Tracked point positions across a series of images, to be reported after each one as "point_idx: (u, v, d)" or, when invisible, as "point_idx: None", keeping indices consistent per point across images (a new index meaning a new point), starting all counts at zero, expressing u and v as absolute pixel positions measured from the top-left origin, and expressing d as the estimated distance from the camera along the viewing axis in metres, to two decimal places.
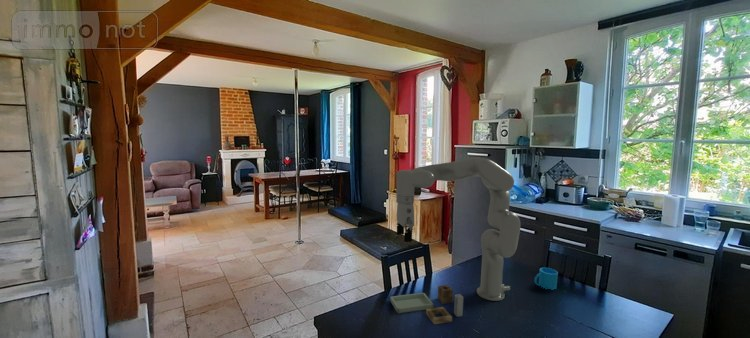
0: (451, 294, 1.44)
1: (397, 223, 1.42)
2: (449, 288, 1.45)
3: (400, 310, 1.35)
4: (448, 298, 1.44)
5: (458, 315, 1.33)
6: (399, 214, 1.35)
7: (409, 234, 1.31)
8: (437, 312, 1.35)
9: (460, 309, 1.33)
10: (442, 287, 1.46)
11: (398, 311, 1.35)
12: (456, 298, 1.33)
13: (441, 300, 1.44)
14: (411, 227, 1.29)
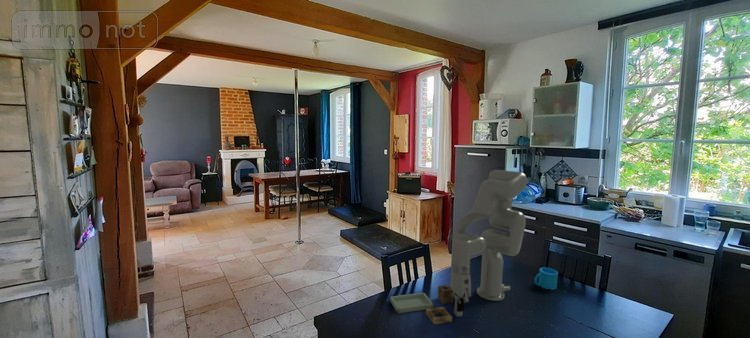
0: (451, 294, 1.44)
1: (453, 295, 1.36)
2: (449, 288, 1.45)
3: (400, 310, 1.35)
4: (448, 298, 1.44)
5: (458, 315, 1.33)
6: (454, 283, 1.32)
7: (462, 304, 1.32)
8: (437, 312, 1.35)
9: None
10: (442, 287, 1.46)
11: (398, 311, 1.35)
12: (456, 298, 1.33)
13: (441, 300, 1.44)
14: (465, 301, 1.29)
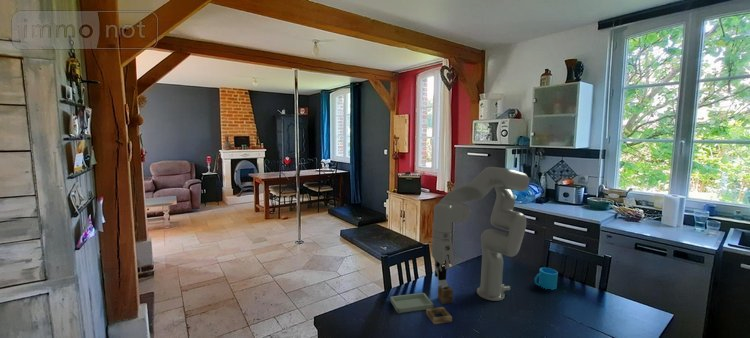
0: (451, 294, 1.44)
1: (435, 264, 1.32)
2: (449, 288, 1.45)
3: (400, 310, 1.35)
4: (448, 298, 1.44)
5: (443, 286, 1.30)
6: (436, 250, 1.28)
7: (444, 272, 1.28)
8: (437, 312, 1.35)
9: (443, 280, 1.30)
10: None
11: (398, 311, 1.35)
12: (436, 270, 1.29)
13: (441, 300, 1.44)
14: (447, 268, 1.25)
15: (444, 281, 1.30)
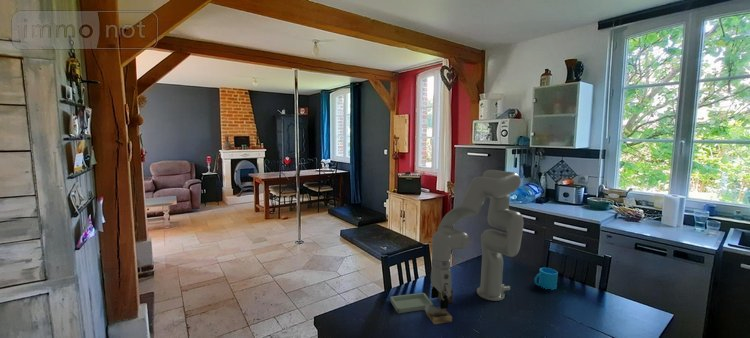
0: (451, 294, 1.44)
1: (431, 286, 1.35)
2: None
3: (400, 310, 1.35)
4: None
5: None
6: (435, 278, 1.30)
7: (446, 301, 1.26)
8: None
9: (438, 313, 1.31)
10: None
11: (398, 311, 1.35)
12: None
13: None
14: (449, 296, 1.23)
15: (440, 313, 1.31)
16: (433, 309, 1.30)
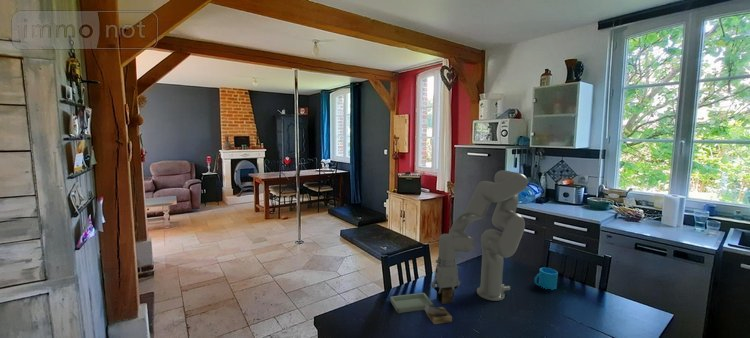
0: (451, 294, 1.44)
1: None
2: (449, 288, 1.45)
3: (400, 310, 1.35)
4: (448, 298, 1.44)
5: None
6: None
7: (437, 293, 1.45)
8: None
9: (438, 313, 1.31)
10: None
11: (398, 311, 1.35)
12: None
13: None
14: (432, 287, 1.44)
15: (440, 313, 1.31)
16: (433, 309, 1.30)
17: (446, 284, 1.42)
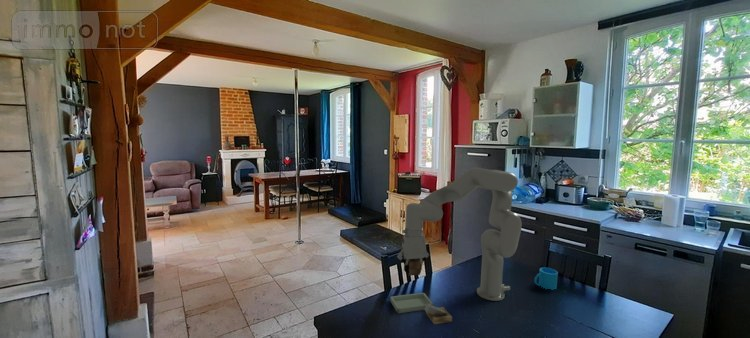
0: (419, 266, 1.38)
1: None
2: (417, 260, 1.39)
3: (400, 310, 1.35)
4: (415, 270, 1.38)
5: None
6: None
7: (404, 265, 1.39)
8: None
9: (439, 313, 1.31)
10: (410, 259, 1.40)
11: (398, 311, 1.35)
12: None
13: None
14: (399, 258, 1.38)
15: (440, 313, 1.31)
16: (433, 309, 1.30)
17: (413, 255, 1.36)
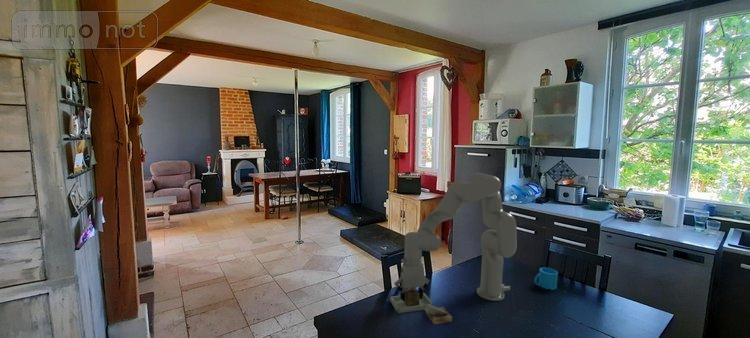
0: (418, 297, 1.40)
1: None
2: (416, 291, 1.41)
3: (400, 310, 1.35)
4: (414, 302, 1.40)
5: None
6: None
7: (401, 293, 1.40)
8: None
9: (439, 313, 1.31)
10: (409, 290, 1.42)
11: (398, 311, 1.35)
12: None
13: (407, 304, 1.40)
14: None
15: (440, 313, 1.31)
16: (433, 309, 1.30)
17: (412, 284, 1.38)
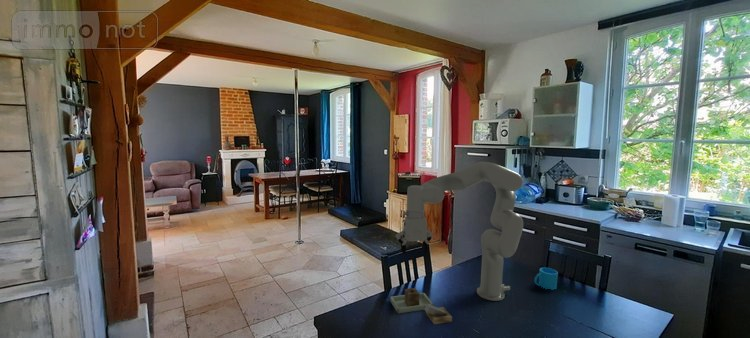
0: (418, 297, 1.40)
1: None
2: (416, 291, 1.41)
3: (400, 310, 1.35)
4: (414, 302, 1.40)
5: None
6: None
7: (401, 245, 1.37)
8: None
9: (439, 313, 1.31)
10: (409, 290, 1.42)
11: (398, 311, 1.35)
12: None
13: (407, 304, 1.40)
14: (396, 237, 1.37)
15: (440, 313, 1.31)
16: (433, 309, 1.30)
17: (414, 237, 1.36)
